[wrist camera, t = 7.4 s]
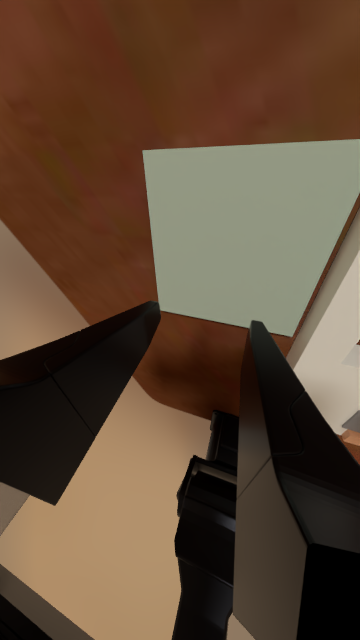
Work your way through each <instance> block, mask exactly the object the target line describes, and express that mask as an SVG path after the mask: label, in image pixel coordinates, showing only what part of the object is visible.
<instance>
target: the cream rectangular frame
mask: <svg viewBox="0 0 360 640" xmlns="http://www.w3.org/2000/svg"><path fill="white" fill-rule="evenodd" d="M359 340H360V207H359V209H358V211H357V214H356V216H355V218H354V220H353V222H352V224H351V226H350V228H349V230H348V232H347V234H346V236H345V238H344V240H343V242H342V244H341V246H340V248H339V251H338V253H337V255H336V257H335V259H334V261H333V263H332V265H331V267H330V269H329V271H328V273H327V275H326V277H325V279H324V281H323V283H322V285H321V288H320V290H319V292H318V294H317V296H316V298H315V300H314V302H313V304H312V306H311V308H310V310H309V312H308V314H307V316H306V318H305V320H304V322H303V324H302V327H301V329H300V331H299V333H298V335H297V337H296V339H295V341H294V343H293V345H292V347H291V349H290V351H289V353H288V355H287V357H286V360H287V361H288V363H289V365H290V366H291V368H292V369H293V371H294V372H295V374H296V376H297V377H298V379H299V380H300V382H301V383H302V385H303V387H304V388H305V391H306V392H307V393H308V394H309V396H310V397H311V399H312V401H313V402H314V404H315V405H316V407H317V408H318V410H319V411H320V413H321V414H322V416H323V417H324V419H325V420H326V421H327V423H328V424H329V425H330V427H331V428H332V429H333V431H334V432H335V433H336V434H339V435H342V437H343V441H346V442H349V443H352V444H355V445H358V446H360V345H356V343H357V342H358V341H359Z"/></svg>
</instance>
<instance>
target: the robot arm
mask: <svg viewBox="0 0 360 640" xmlns="http://www.w3.org/2000/svg"><path fill="white" fill-rule="evenodd" d="M160 319H161V313H160V305H159V303H158V302H155V301H148V302H146V303H144V304H141V305H139V306H136V307H134V308H132V309H129V310H127V311H125V312H122V313H120V314H118V315H115V316H113V317H110V318H108V319H106V320H103V321H101V322H99V323H96V324H94V325H92V326H89V327H87V328H85V329H82V330H81V331H78V332H75V333H73V334H70V335H68V336H65V337H63V338H60V339H58V340H55V341H53V342H50V343H47V344H44V345H42V346H39V347H36V348H33V349H31V350H28V351H25V352H22V353H19V354H17V355H14V356H11V357H8V358H5V359H2V360H0V536H1V534H2V533H3V531H4V530H5V528H6V527H7V526H8V525H9V523H10V521H11V520H12V519H13V518H14V516H15V515H16V513H17V512H18V510H19V509H20V508H21V507H22V505H23V504H24V502H25V501H26V500H27V498H28V497H29V496H30V495H31V496H34V497H36V498H38V499H40V500H43V501H45V502H47V503H50V504H52V505H54V506H55V505H56V504H57V502H58V501H59V499H60V497H61V496H62V494H63V492H64V491H65V489H66V487H67V486H68V484H69V482H70V480H71V478H72V477H73V475H74V473H75V472H76V470H77V468H78V467H79V465H80V463H81V461H82V460H83V458H84V456H85V455H86V453H87V451H88V450H89V448H90V446H91V445H92V443H93V441H94V440H95V437H96V436H97V434H98V432H99V431H100V429H101V427H102V426H103V423H104V422H105V421H106V419H107V417H108V415H109V414H110V412H111V410H112V409H113V407H114V405H115V403H116V402H117V400H118V398H119V397H120V395H121V393H122V392H123V390H124V388H125V387H126V385H127V383H128V381H129V380H130V378H131V376H132V375H133V373H134V371H135V369H136V368H137V366H138V364H139V363H140V361H141V359H142V358H143V356H144V354H145V352H146V351H147V349H148V347H149V345H150V343H151V341H152V338H153V336H154V334H155V331H156V329H157V327H158V325H159V322H160ZM210 430H211V431H212V433H211V437H210V442H209V446H208V451H207V455H206V460H205V459H202V458H199V457H198V456H196V455H193V458H191V459H190V463H189V466H188V469H187V472H186V475H185V477H184V479H183V481H182V484H181V486H180V488H179V490H178V492H177V499H178V509H177V515H178V517H180V519H179V523H178V528H177V532H176V535H175V540H174V542H175V554H176V557H177V558H178V565H179V573H180V582H181V596H180V602H179V606H178V611H177V616H176V621H175V626H174V631H173V635H172V640H227V631H228V620H229V617H230V615H231V614H232V612H233V615H234V616H235V617H236V618H237V620H239V622H240V623H241V624H242V625H243V626H244V627H245V628H246V630H247V631H248V632H249V633H250V634H251V635H252V636H253V637H254V639H255V640H360V465H359V464H358V462H357V461H356V460H355V458H354V457H353V456H352V455H351V453H350V452H349V451H348V449H347V448H346V447H345V445H344V444H343V443H342V442H341V440H340V439H339V438H338V436H337V435H336V433H335V432H334V431H333V429H332V428H331V427H330V425H329V424H328V423H327V421H326V420H325V419H324V417H323V416H322V414H321V413H320V411H319V410H318V408H317V407H316V405H315V404H314V402H313V401H312V399H311V397H310V396H309V394H308V393H307V392H306V391H305V388H304V387H303V385H302V383H301V382H300V380H299V379H298V377H297V376H296V374H295V372H294V371H293V369H292V368H291V366H290V365H289V363H288V361H287V360H286V358H285V357H284V355H283V353H282V352H281V350H280V349H279V347H278V346H277V344H276V342H275V341H274V339H273V338H272V336H271V335H270V333H269V331H268V330H267V328H266V327H265V325H264V324H263V322H261V321H256V320H252V321H251V323H250V327H249V331H248V334H247V339H246V344H245V350H244V356H243V362H242V368H241V382H240V411H239V417H236V416H233V415H230V414H227V413H224V412H221V411H218V410H213V414H212V420H211V425H210ZM0 640H94V639H93V638H92V637H90V636H89V635H88V634H87V633H86V632H84V631H83V630H82V629H80V628H79V627H78V626H77V625H75V624H74V623H73V622H72V621H71V620H69V619H68V618H67V617H66V616H64V615H63V614H62V613H61V612H59V611H58V610H57V609H56V608H54V607H53V606H52V605H51V604H49V603H48V602H47V601H46V600H44V599H43V598H42V597H41V596H39V595H38V594H37V593H36V592H34V591H33V590H32V589H31V588H29V587H28V586H27V585H26V584H24V583H23V582H22V581H21V580H19V579H18V578H17V577H16V576H15V575H13V574H12V573H11V572H9V571H8V570H7V569H6V568H5V567H3V566H2V565H1V564H0Z"/></svg>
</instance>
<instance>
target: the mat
mask: <svg viewBox="0 0 360 640" xmlns="http://www.w3.org/2000/svg"><path fill="white" fill-rule="evenodd" d="M143 159H144V168H145V177H146V187H147V196H148V205H149V215H150V224H151V234H152V243H153V252H154V262H155V271H156V280H157V290H158V299H159V305H160V310H162V311H167V312H172V313H177V314H182V315H187V316H192V317H197V318H202V319H207V320H212V321H216V322H221V323H226V324H231V325H236V326H241V327H246V328H249V327H250V323H251V321H252V320H256V321H261V322H263V324H264V325H265V327H266V328H267V330H268V331H269V332H271V333H276V334H281V335H286V336H291V337H292V336H293V334H294V332H295V330H296V328H297V325H298V323H299V321H300V319H301V317H302V315H303V313H304V310H305V308H306V306H307V304H308V302H309V300H310V298H311V295H312V293H313V291H314V289H315V287H316V285H317V283H318V280H319V278H320V276H321V274H322V272H323V270H324V268H325V265H326V263H327V261H328V259H329V257H330V255H331V253H332V251H333V248H334V246H335V244H336V242H337V240H338V238H339V236H340V233H341V231H342V229H343V227H344V225H345V223H346V221H347V218H348V216H349V214H350V212H351V210H352V208H353V206H354V203H355V201H356V199H357V197H358V195H359V193H360V139H355V140H336V141H317V142H297V143H278V144H258V145H239V146H219V147H200V148H180V149H161V150H143Z"/></svg>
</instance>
